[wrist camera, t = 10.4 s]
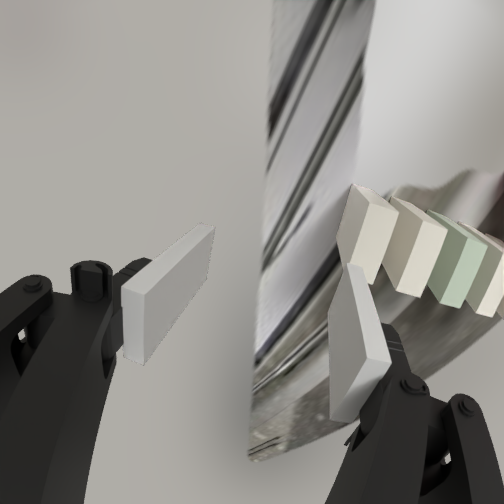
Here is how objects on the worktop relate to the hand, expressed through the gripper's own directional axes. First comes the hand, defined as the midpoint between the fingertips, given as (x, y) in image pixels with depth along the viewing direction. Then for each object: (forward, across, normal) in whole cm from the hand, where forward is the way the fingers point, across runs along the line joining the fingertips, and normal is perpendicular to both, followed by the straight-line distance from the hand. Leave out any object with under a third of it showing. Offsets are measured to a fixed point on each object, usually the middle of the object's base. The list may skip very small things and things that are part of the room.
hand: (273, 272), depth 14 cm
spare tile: (+19, +16, 0) cm, 24 cm away
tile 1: (+19, +6, 0) cm, 20 cm away
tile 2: (+19, +11, 0) cm, 22 cm away
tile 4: (+19, +20, 0) cm, 28 cm away
